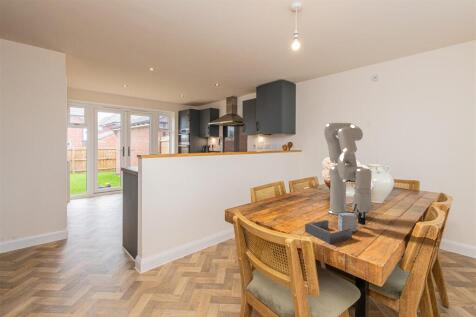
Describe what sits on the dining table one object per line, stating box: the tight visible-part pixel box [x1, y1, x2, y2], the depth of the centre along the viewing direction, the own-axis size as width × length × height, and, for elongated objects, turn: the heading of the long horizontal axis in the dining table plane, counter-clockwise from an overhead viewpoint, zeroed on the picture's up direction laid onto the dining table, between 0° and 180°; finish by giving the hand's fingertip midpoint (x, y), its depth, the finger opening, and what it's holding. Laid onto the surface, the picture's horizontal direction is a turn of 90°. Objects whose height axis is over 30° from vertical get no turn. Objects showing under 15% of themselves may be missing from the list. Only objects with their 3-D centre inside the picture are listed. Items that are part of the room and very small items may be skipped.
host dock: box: [304, 219, 353, 245], centre depth 113 cm, size 15×16×5 cm
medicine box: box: [337, 212, 358, 232], centre depth 119 cm, size 8×4×9 cm, turn 92°
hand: (361, 223), depth 124 cm, fingers closed
